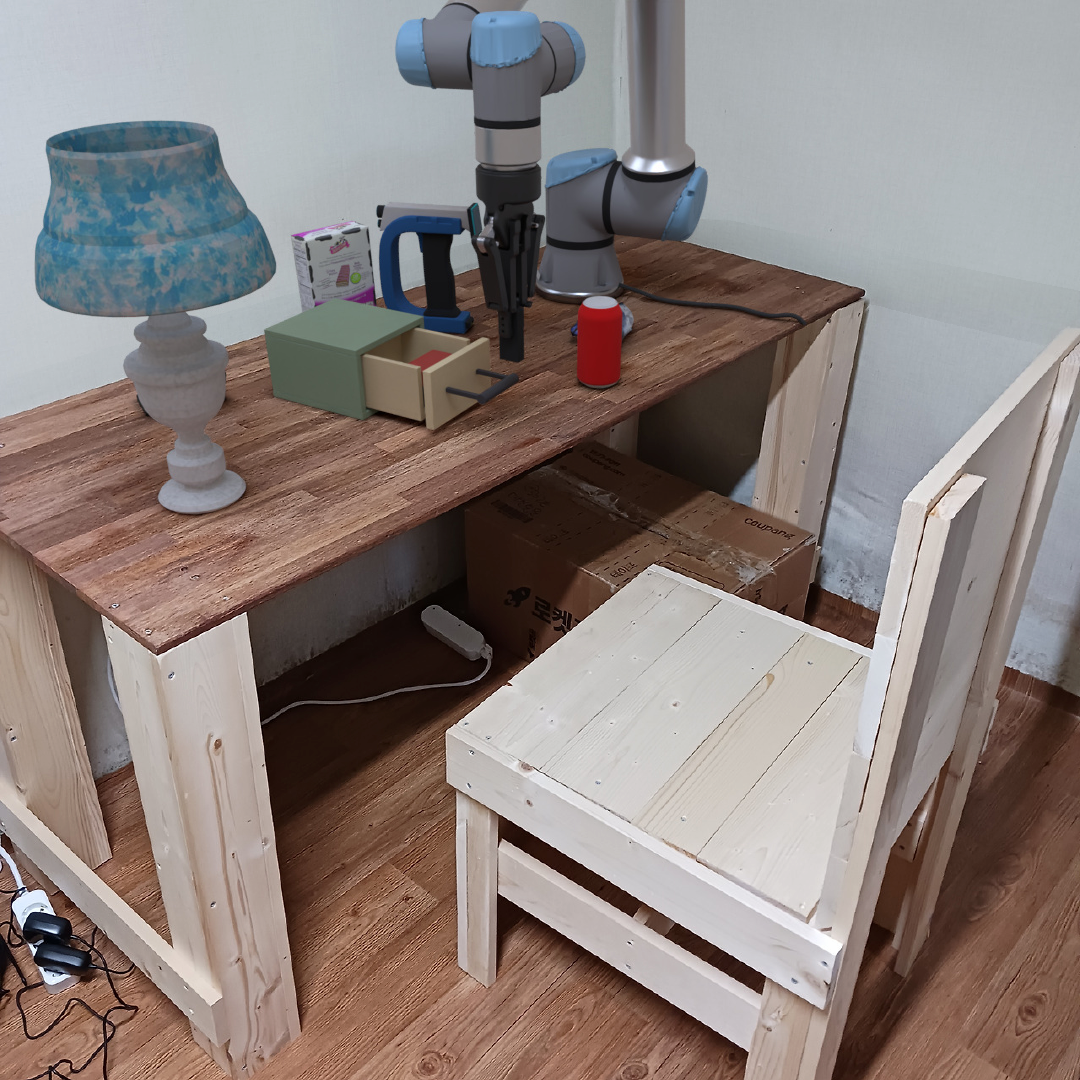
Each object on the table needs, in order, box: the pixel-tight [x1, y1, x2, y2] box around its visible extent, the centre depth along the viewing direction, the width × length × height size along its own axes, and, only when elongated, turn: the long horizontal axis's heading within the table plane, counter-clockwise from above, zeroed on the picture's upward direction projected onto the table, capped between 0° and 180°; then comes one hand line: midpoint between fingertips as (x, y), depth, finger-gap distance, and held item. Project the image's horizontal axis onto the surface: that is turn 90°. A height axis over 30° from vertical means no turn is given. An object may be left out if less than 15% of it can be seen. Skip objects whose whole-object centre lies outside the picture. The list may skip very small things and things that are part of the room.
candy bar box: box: [290, 220, 378, 313], centre depth 166 cm, size 11×5×16 cm, turn 131°
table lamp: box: [34, 120, 277, 515], centre depth 114 cm, size 24×24×40 cm
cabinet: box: [263, 298, 424, 421], centre depth 148 cm, size 16×15×10 cm
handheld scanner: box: [375, 201, 483, 335], centre depth 166 cm, size 5×16×20 cm, turn 78°
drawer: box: [360, 327, 520, 431], centre depth 142 cm, size 21×14×8 cm, turn 59°
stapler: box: [408, 350, 452, 407], centre depth 142 cm, size 8×3×5 cm, turn 150°
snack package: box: [570, 295, 635, 345], centre depth 166 cm, size 12×6×12 cm
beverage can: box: [576, 296, 623, 389], centre depth 149 cm, size 6×6×12 cm
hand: (512, 358), depth 134 cm, fingers closed
